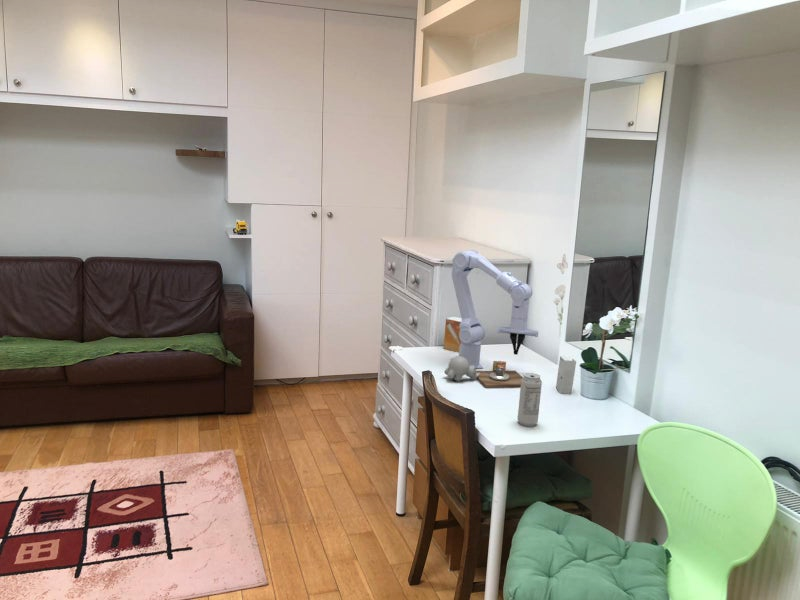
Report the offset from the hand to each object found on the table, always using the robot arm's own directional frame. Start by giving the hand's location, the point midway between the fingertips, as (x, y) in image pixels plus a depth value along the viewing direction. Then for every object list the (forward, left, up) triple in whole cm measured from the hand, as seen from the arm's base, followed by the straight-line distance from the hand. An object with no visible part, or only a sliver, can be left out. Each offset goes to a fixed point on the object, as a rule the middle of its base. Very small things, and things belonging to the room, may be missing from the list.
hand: (515, 353), depth 246 cm
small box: (-37, -11, -9) cm, 40 cm away
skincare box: (+16, +13, -9) cm, 22 cm away
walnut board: (+4, -6, -9) cm, 12 cm away
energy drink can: (+44, -12, -9) cm, 47 cm away
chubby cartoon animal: (+3, -20, -9) cm, 23 cm away
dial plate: (+3, -6, -7) cm, 10 cm away
